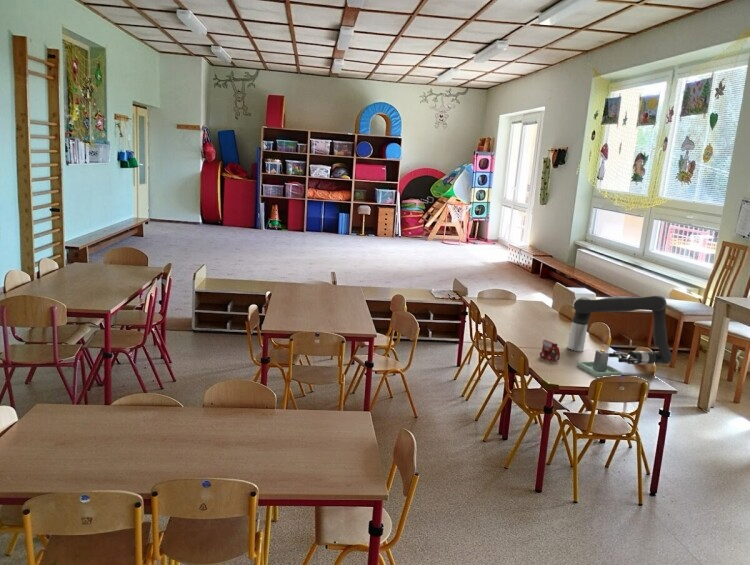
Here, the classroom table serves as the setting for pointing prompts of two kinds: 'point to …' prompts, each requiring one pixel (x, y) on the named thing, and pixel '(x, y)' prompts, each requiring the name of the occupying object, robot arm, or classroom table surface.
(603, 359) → the block
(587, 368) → the green tray
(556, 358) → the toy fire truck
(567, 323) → the classroom table surface
